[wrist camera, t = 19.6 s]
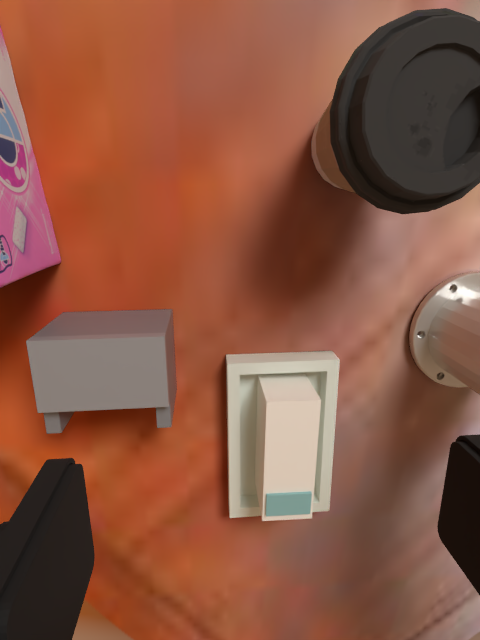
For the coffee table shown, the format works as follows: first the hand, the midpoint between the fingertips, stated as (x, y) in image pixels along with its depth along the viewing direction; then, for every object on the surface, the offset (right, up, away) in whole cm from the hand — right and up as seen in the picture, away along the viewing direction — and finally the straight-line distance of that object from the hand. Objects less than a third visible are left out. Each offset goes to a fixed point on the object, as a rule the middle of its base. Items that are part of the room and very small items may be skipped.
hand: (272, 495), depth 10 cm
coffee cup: (+9, +20, +27) cm, 35 cm away
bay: (-13, +1, +30) cm, 33 cm away
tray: (+3, -8, +34) cm, 35 cm away
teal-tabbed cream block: (+3, -7, +34) cm, 35 cm away
